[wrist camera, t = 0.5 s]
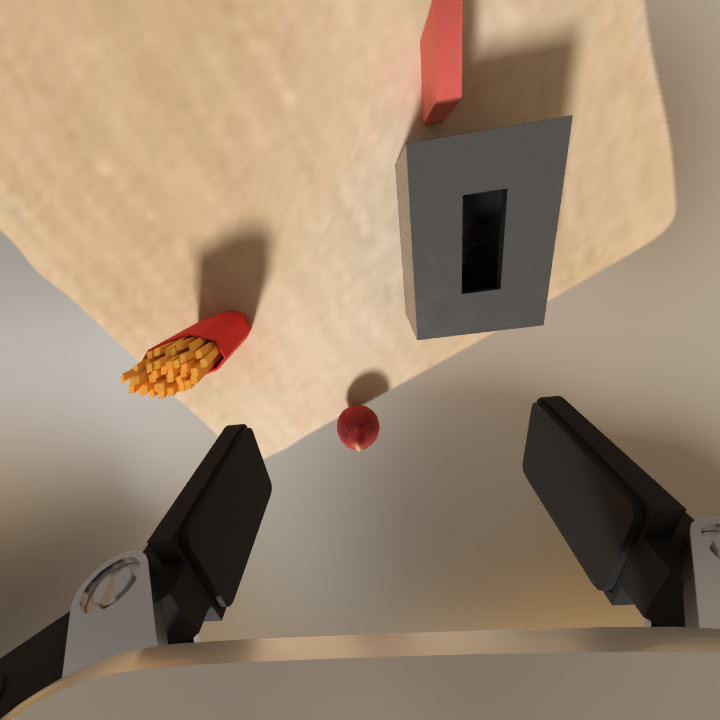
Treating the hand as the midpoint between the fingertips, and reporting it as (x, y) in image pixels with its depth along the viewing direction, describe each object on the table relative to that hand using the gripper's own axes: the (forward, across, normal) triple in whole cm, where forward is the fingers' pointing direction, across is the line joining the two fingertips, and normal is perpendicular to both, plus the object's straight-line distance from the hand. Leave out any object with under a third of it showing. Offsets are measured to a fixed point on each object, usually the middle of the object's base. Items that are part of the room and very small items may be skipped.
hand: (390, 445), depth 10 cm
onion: (+28, +4, +18) cm, 34 cm away
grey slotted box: (+28, -10, -4) cm, 30 cm away
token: (+28, -7, -18) cm, 34 cm away
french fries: (+28, +20, +4) cm, 35 cm away
